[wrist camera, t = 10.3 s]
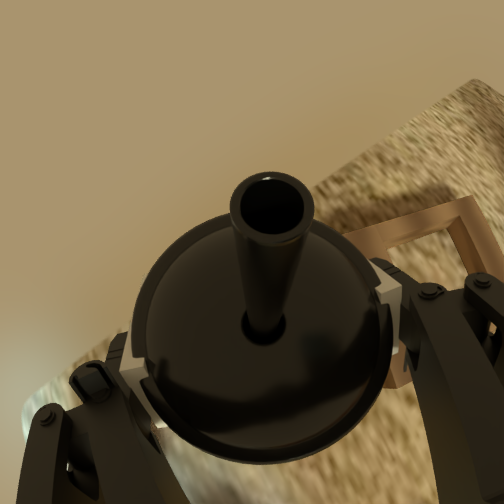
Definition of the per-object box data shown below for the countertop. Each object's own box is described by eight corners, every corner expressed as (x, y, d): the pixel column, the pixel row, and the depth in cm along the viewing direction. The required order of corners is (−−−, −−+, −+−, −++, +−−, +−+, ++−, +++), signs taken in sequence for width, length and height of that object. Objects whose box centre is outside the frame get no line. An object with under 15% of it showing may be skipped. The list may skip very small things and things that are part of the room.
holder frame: (459, 207, 31) (472, 194, 28) (507, 314, 26) (523, 307, 23) (331, 249, 29) (338, 235, 26) (383, 388, 24) (397, 388, 21)
